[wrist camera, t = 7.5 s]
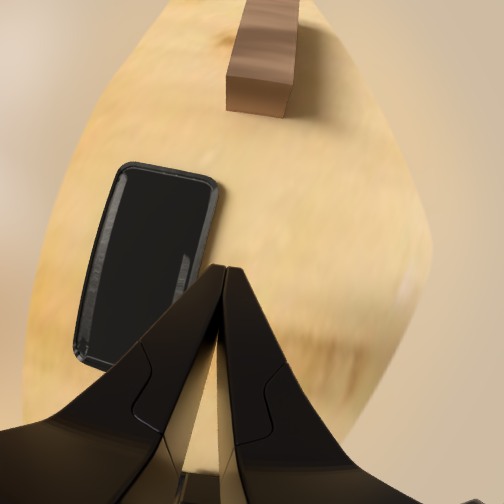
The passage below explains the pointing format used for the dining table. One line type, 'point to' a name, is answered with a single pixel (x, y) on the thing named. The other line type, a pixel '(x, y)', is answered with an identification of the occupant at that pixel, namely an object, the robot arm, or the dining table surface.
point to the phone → (141, 257)
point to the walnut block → (263, 58)
